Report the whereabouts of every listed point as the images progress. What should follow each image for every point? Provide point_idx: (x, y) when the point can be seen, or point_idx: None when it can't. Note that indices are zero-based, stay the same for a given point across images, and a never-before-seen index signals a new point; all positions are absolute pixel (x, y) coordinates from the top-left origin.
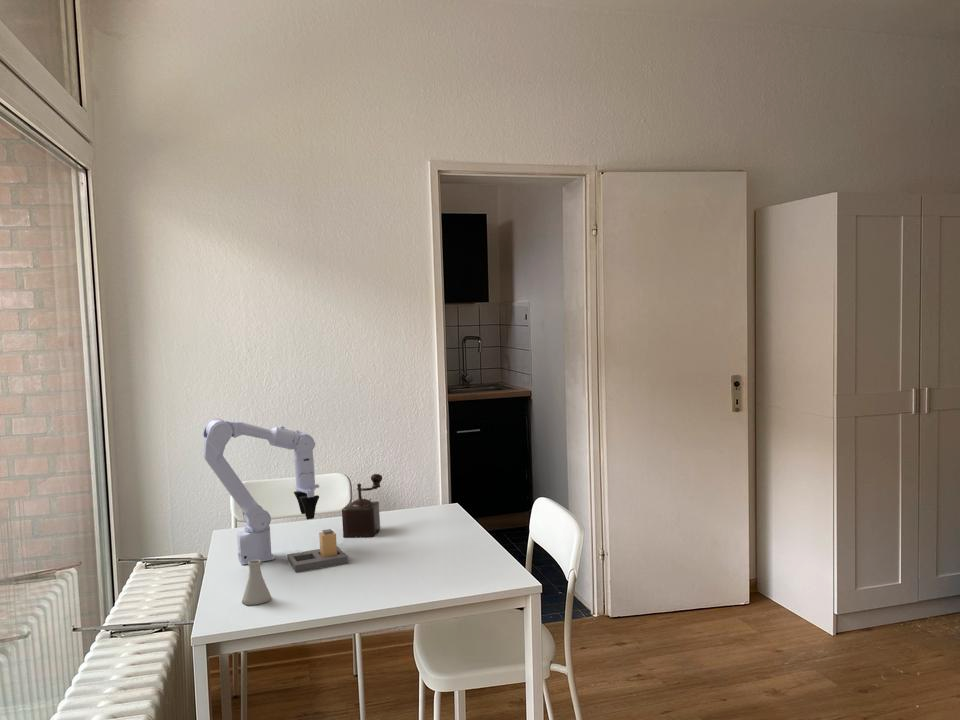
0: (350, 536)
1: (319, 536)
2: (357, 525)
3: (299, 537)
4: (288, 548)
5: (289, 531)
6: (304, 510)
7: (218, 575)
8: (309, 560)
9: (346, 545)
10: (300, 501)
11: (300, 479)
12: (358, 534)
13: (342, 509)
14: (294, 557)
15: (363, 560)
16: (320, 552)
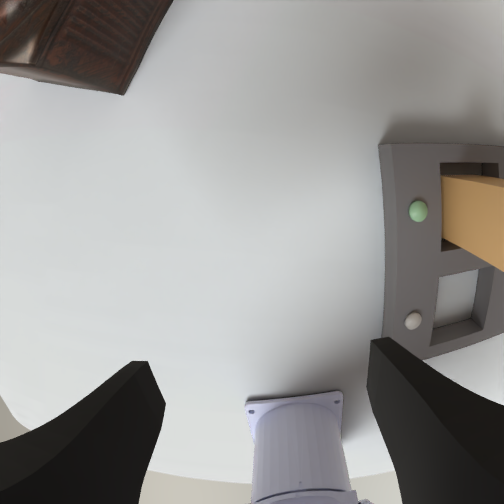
0: (138, 60)
1: (497, 267)
2: (131, 6)
3: (62, 287)
4: (202, 345)
5: (6, 306)
6: (148, 407)
7: (378, 468)
8: (499, 289)
9: (270, 83)
10: (129, 494)
11: None
12: (150, 23)
13: (28, 58)
14: (428, 340)
15: (496, 90)
16: (453, 241)
